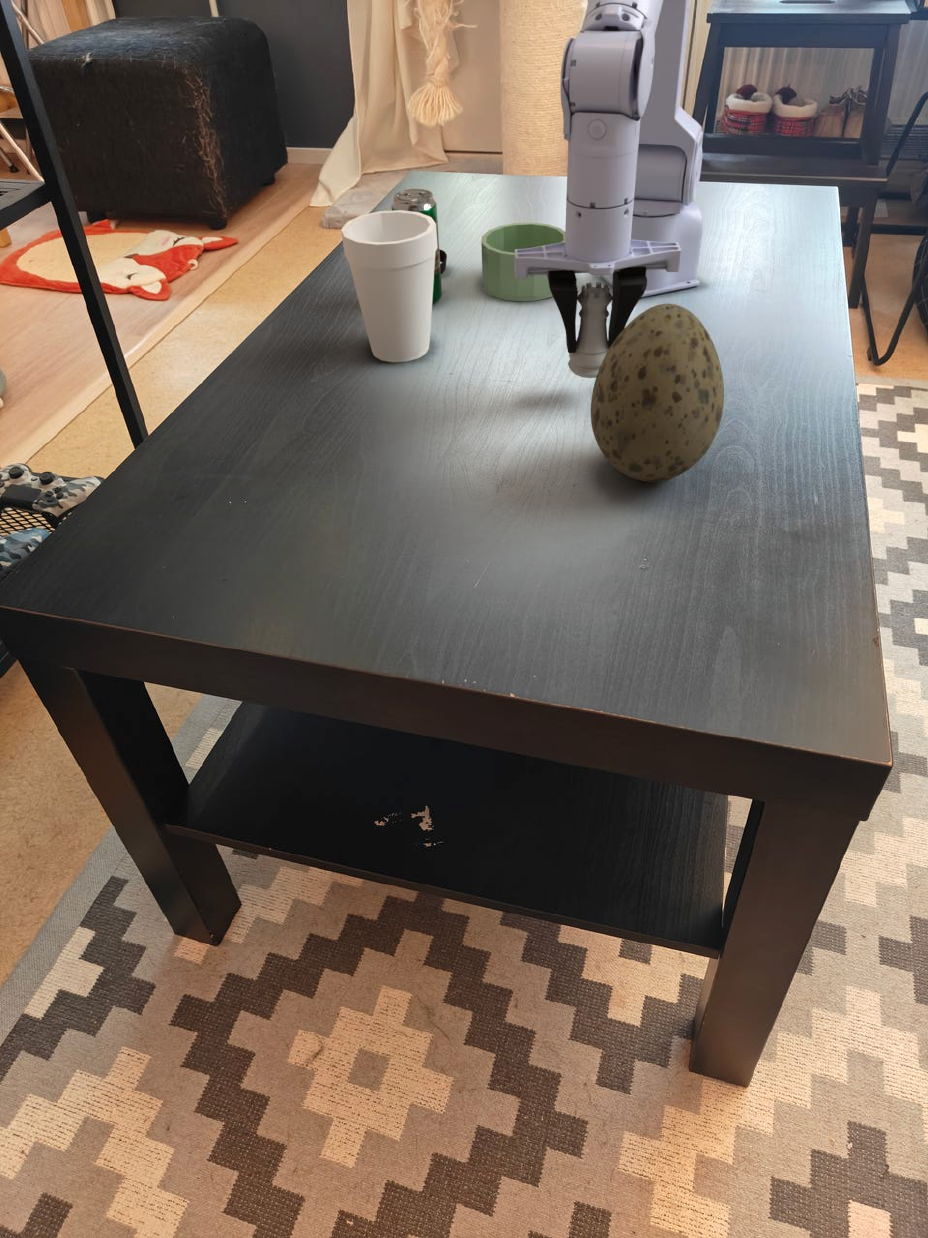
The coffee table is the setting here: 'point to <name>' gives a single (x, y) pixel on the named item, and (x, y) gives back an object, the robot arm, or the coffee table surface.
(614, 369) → the decorative egg
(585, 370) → the rook chess piece
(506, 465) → the coffee table surface
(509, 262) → the green cup
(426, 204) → the soda can
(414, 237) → the foam cup
